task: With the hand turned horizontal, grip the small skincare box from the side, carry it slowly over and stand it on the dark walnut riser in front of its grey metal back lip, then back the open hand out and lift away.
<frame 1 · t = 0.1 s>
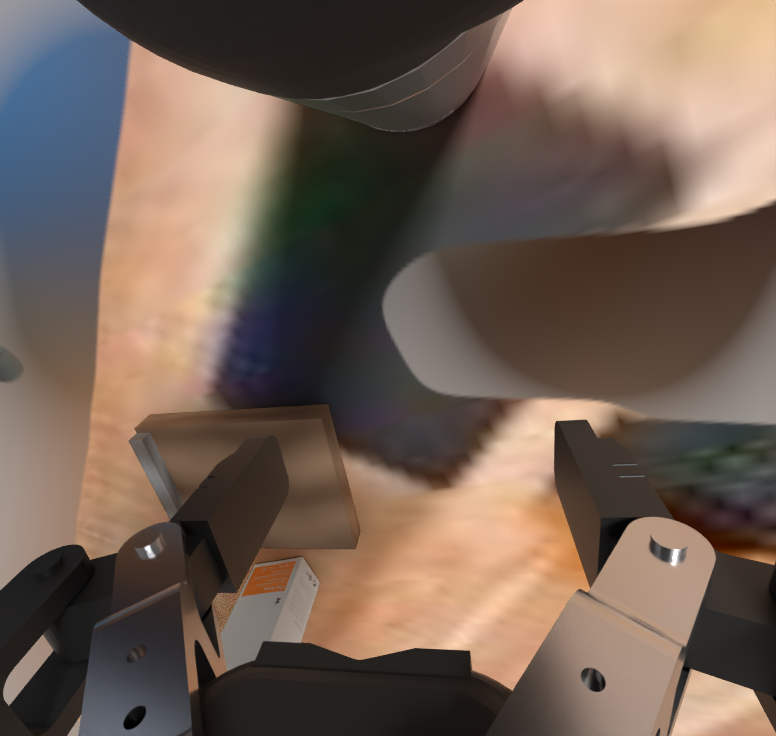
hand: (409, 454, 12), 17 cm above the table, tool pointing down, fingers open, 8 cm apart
skincare box: (287, 570, 43), on the table
walnut riser: (259, 475, 37), on the table
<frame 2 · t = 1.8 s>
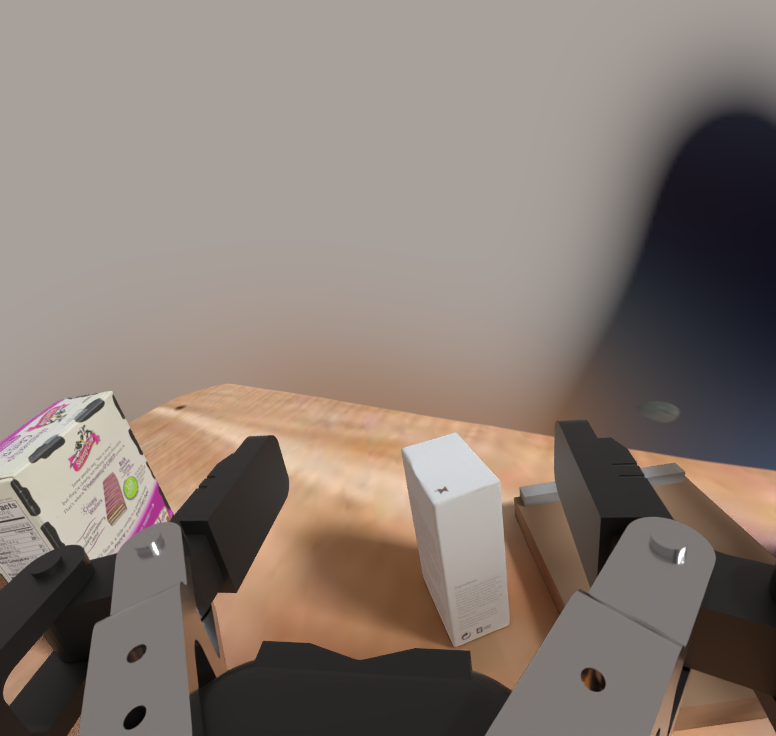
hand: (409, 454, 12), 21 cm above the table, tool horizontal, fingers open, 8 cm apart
skincare box: (463, 601, 30), on the table
walnut riser: (654, 583, 29), on the table
candy bar box: (135, 595, 35), on the table
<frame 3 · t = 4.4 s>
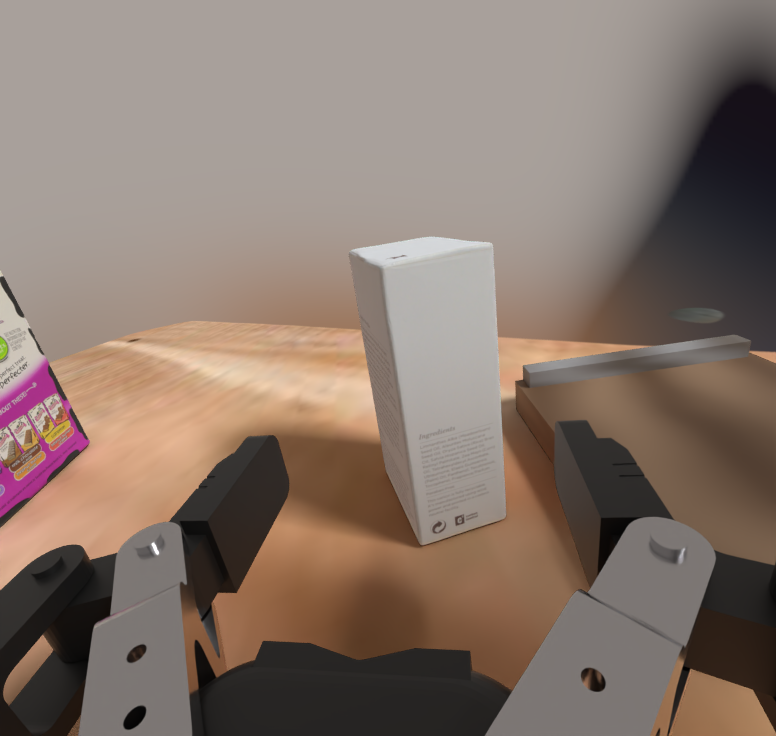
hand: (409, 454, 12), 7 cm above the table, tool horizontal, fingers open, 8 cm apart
skincare box: (440, 495, 21), on the table
walnut riser: (719, 468, 19), on the table
candy bar box: (3, 501, 26), on the table
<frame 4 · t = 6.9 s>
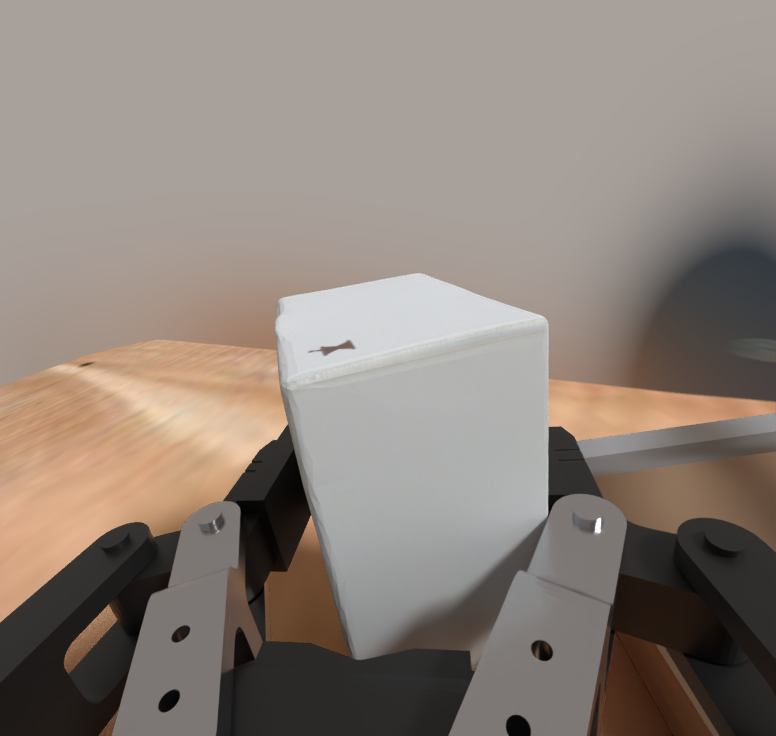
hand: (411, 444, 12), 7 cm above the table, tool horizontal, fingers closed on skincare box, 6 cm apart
skincare box: (434, 683, 13), on the table, touching gripper
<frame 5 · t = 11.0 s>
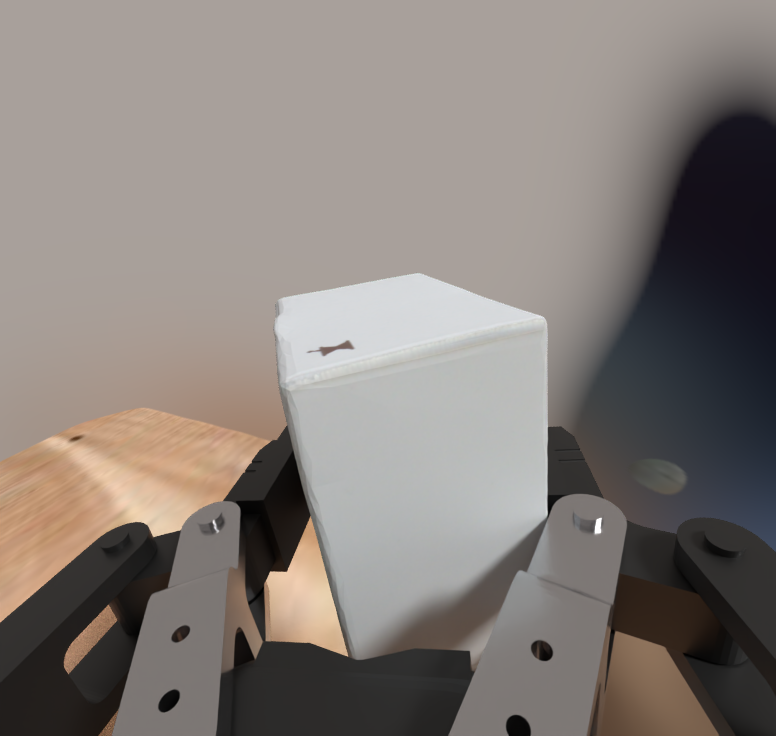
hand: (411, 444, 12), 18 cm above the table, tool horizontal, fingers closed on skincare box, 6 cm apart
skincare box: (434, 683, 13), point 10 cm above the table, touching gripper
when the fingers open (10 cm above the table, at t = 15.2 s): skincare box stays where it is, resting on walnut riser.
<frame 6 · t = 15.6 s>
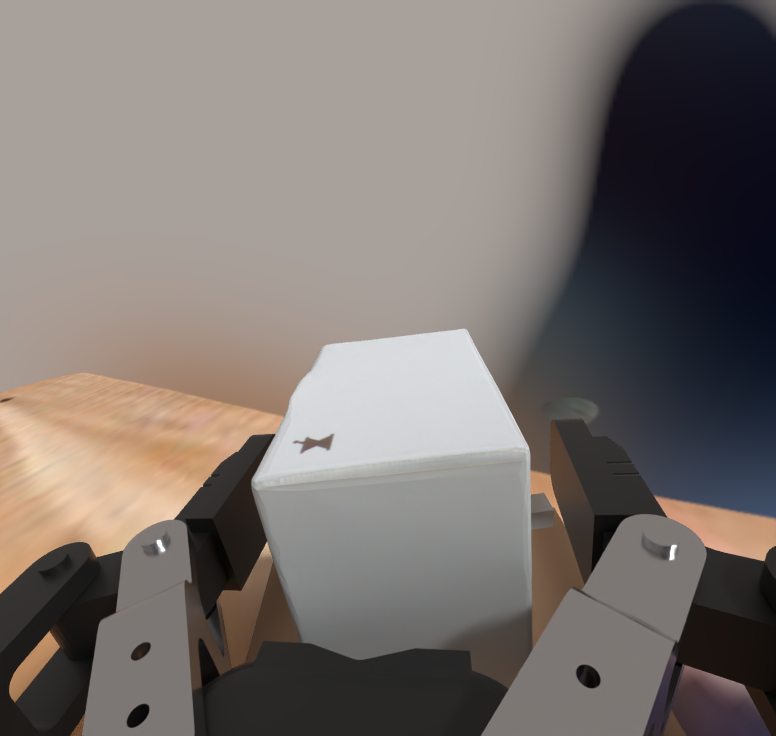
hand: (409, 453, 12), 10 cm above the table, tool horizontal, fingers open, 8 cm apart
skincare box: (443, 727, 13), point 2 cm above the table, touching walnut riser
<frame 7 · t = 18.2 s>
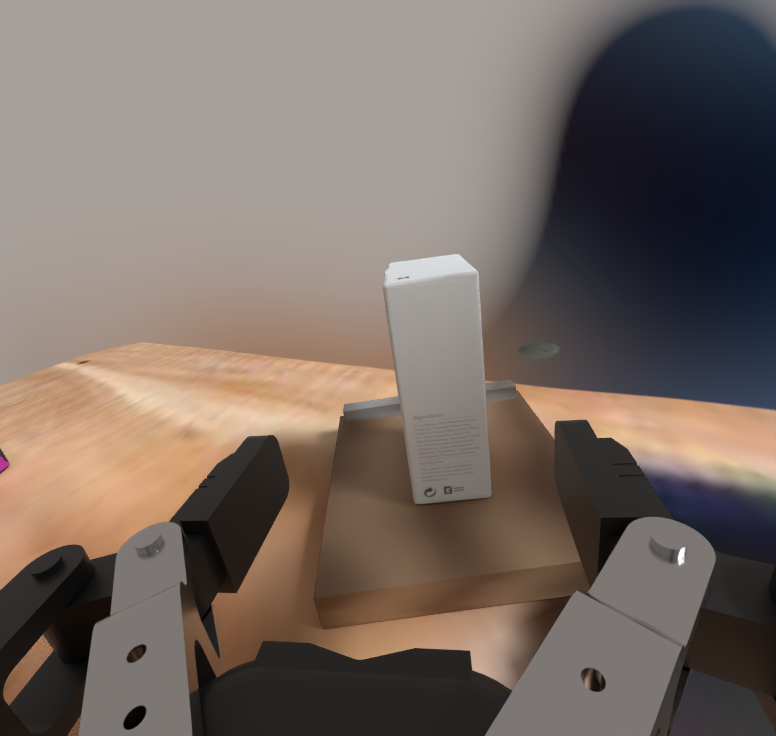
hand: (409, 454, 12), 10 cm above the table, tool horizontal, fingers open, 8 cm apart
skincare box: (448, 471, 25), point 2 cm above the table, touching walnut riser
walnut riser: (447, 490, 26), on the table
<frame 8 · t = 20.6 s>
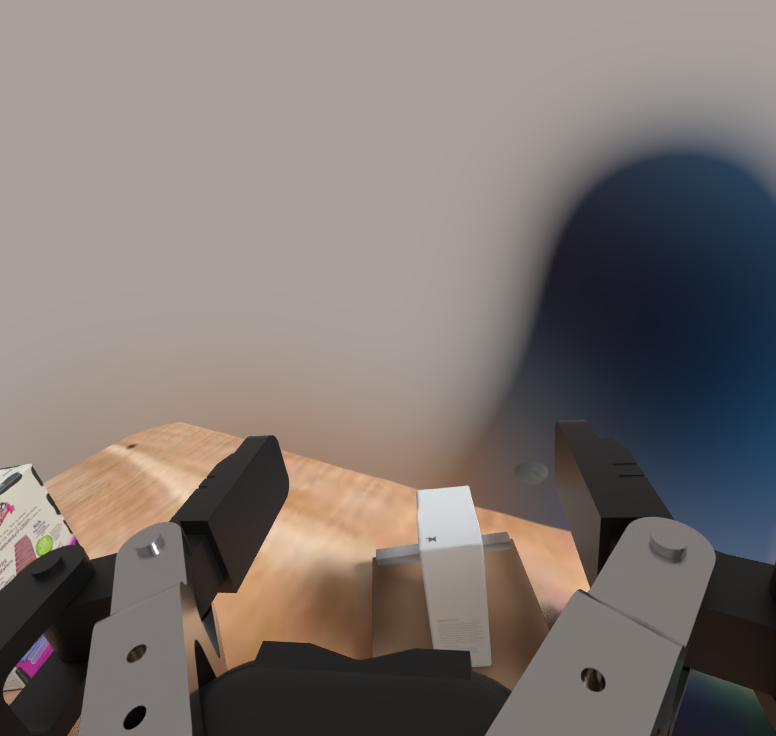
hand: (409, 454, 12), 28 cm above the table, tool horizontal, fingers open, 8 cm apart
skincare box: (459, 631, 34), point 2 cm above the table, touching walnut riser
walnut riser: (459, 641, 35), on the table
candy bar box: (48, 635, 41), on the table
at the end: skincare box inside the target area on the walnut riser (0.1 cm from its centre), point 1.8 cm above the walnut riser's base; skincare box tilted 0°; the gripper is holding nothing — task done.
